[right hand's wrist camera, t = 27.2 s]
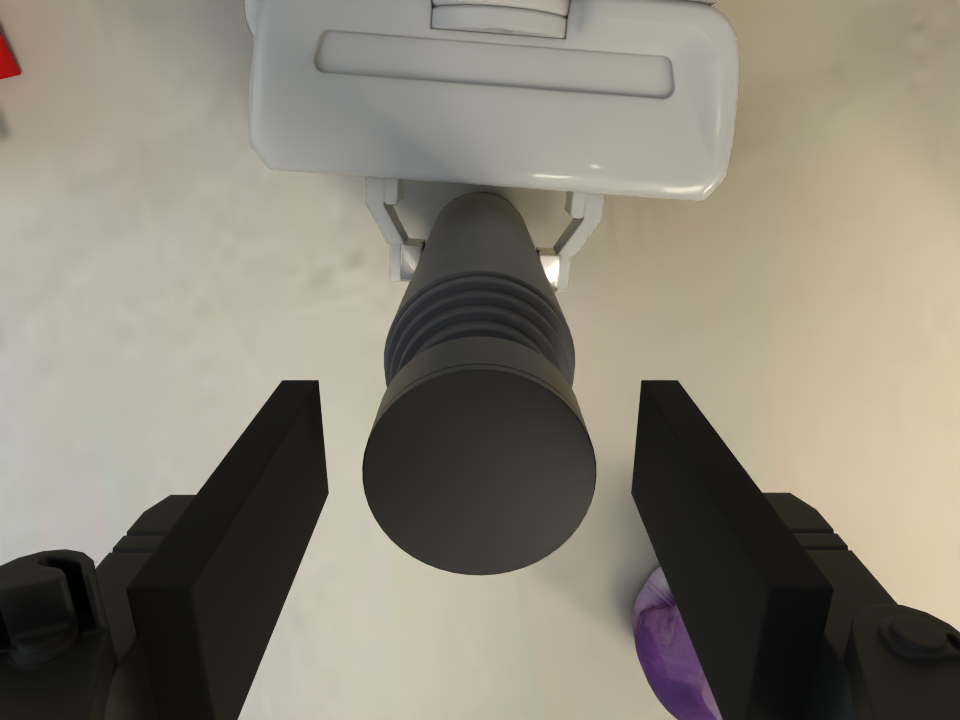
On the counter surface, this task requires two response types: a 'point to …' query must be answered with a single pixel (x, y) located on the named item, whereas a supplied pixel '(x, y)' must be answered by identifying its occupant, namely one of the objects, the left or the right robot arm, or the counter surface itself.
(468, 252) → the bottle
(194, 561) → the right robot arm
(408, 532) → the cap
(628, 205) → the counter surface
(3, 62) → the toy
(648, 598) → the figurine
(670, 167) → the left robot arm
